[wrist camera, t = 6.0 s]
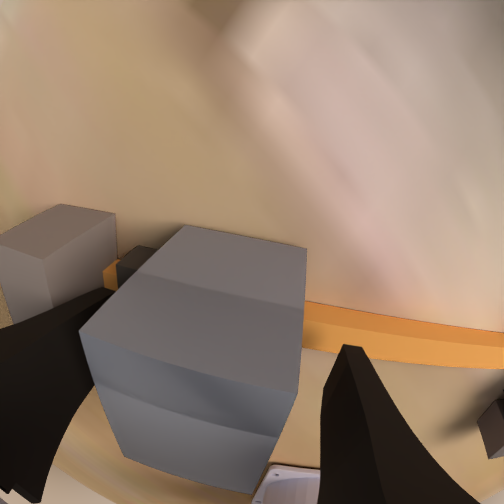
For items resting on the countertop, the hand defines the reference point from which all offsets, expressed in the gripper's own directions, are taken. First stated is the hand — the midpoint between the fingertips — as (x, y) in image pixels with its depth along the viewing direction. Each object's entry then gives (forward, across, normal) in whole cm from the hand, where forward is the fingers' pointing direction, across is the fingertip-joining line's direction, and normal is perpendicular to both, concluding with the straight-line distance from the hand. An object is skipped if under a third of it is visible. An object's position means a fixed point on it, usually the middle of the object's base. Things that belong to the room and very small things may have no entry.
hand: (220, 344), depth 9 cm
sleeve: (+2, 0, 0) cm, 2 cm away
